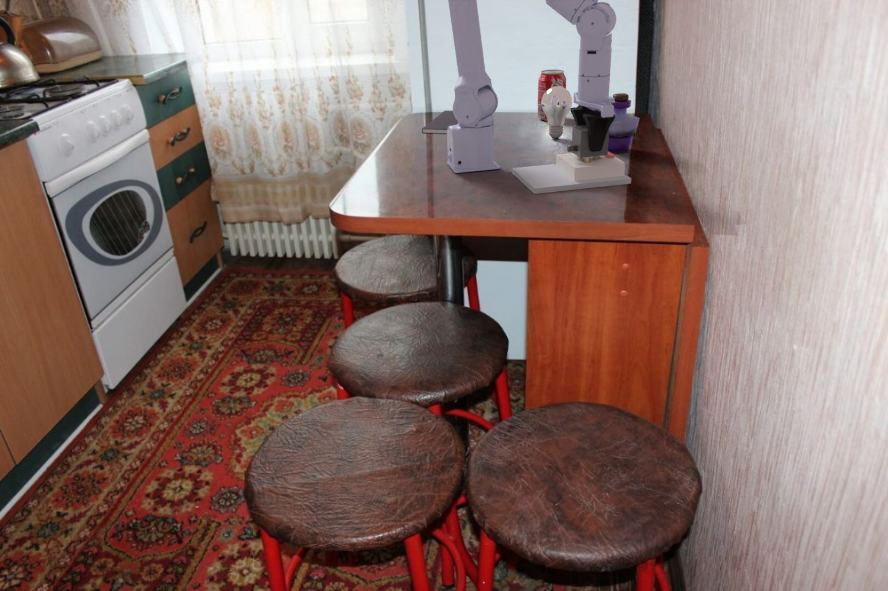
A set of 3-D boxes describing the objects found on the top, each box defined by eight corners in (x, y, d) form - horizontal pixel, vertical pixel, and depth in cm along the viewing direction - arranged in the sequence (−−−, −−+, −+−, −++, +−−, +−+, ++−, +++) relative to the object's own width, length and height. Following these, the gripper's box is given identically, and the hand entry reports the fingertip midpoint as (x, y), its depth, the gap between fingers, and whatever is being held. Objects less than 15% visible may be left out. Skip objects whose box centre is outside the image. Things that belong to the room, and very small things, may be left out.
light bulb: (576, 140, 166) (578, 86, 160) (549, 144, 163) (551, 90, 158) (561, 134, 171) (562, 82, 166) (535, 137, 169) (536, 85, 164)
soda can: (569, 117, 187) (571, 69, 182) (558, 123, 182) (559, 74, 176) (544, 115, 191) (545, 68, 185) (532, 120, 185) (533, 72, 180)
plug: (563, 158, 140) (564, 127, 137) (597, 155, 141) (599, 123, 139) (571, 164, 136) (573, 132, 133) (607, 161, 137) (609, 128, 135)
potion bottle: (645, 149, 156) (650, 93, 151) (620, 157, 151) (624, 99, 146) (614, 143, 162) (617, 88, 157) (588, 150, 157) (591, 94, 152)
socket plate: (555, 166, 143) (556, 151, 142) (603, 162, 145) (603, 146, 144) (574, 180, 135) (574, 164, 133) (624, 175, 136) (625, 159, 135)
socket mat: (534, 193, 132) (534, 188, 131) (512, 173, 144) (512, 168, 144) (630, 183, 135) (631, 178, 135) (601, 164, 147) (601, 159, 147)
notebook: (445, 116, 197) (422, 134, 178) (444, 110, 196) (421, 128, 178) (490, 117, 193) (471, 136, 175) (490, 111, 193) (471, 130, 174)
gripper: (631, 79, 126) (626, 155, 132) (599, 67, 139) (595, 137, 145) (593, 82, 125) (590, 158, 131) (564, 70, 138) (562, 140, 144)
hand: (590, 147), depth 138 cm, fingers closed on plug, 4 cm apart
